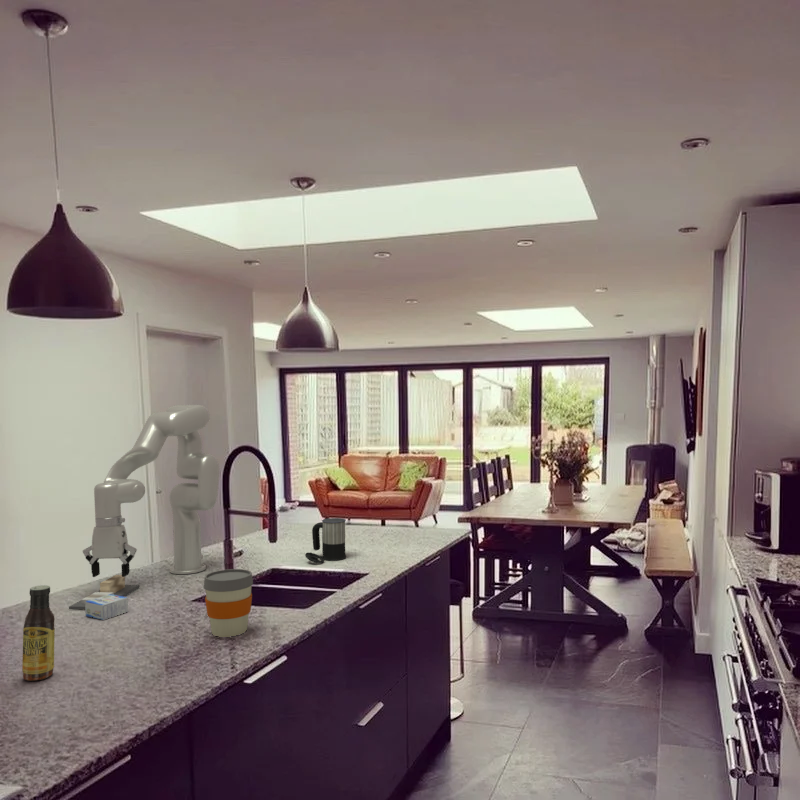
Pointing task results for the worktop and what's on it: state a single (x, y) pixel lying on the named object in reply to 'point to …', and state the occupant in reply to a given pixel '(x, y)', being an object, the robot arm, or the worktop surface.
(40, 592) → the sauce bottle
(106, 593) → the beige curved piece
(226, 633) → the reusable coffee cup
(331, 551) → the milk frother
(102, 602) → the medicine box
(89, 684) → the worktop surface
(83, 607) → the mat
